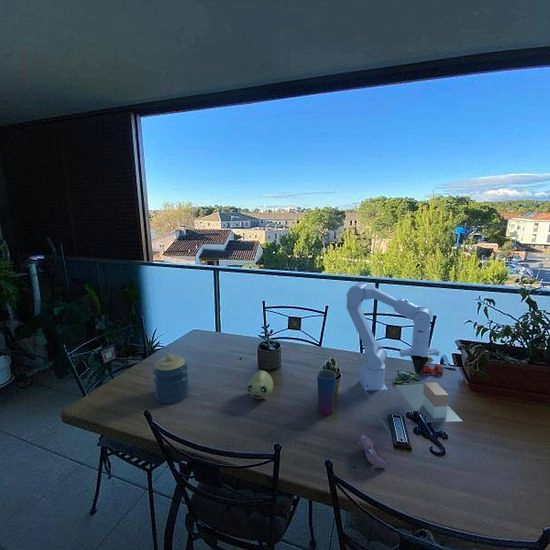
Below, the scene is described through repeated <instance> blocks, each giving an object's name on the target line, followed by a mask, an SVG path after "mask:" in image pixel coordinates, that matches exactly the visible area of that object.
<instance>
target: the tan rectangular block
mask: <svg viewBox="0 0 550 550" xmlns="http://www.w3.org/2000/svg"><path fill="white" fill-rule="evenodd" d="M423 384H424V391H423V394H424V395H425V396H426V397H427V399H428V400H429V401H430V402H431V403H432V404H433V406H434V407H439V406H447V405H448V403H449V402H448V401H449V394H448V392H447V391H446V390H445V389H444V388H443V387H442V386H440V384H438V383H437V382H434V381H433V382H432V381H431V382H423Z"/></svg>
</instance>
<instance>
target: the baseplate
mask: <svg viewBox="0 0 550 550" xmlns="http://www.w3.org/2000/svg"><path fill="white" fill-rule="evenodd" d="M394 386H395V388H396V390H397V391H398V392H399V393H400V394H401V395H402V397H403V399H404V400H405V401H406V403H408V405H409V406H410V407H411V409H412V410H413V411H414V412H415V411H418V412H419V413H421V414H422V415H423V416H426V418H425V419H426V420H425V421H426V424H427V423H430V424H431V423H451V422H453V423H455V422H463V420H462V419H461V417H460V416H458V414H456V412H455V411H454V410H453V409H452V408H451V407H450V406H449V405H448V404H447V415H446V418H433V417H432V416H431V415H430V413H429V412H428V411H427V410H426V409H425V407H424V406H423V405H422V404H423V391H424V383H422V384H421V383H420V384H418V383H417V384H416V383H415V384H395V385H394Z"/></svg>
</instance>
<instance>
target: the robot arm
mask: <svg viewBox="0 0 550 550" xmlns="http://www.w3.org/2000/svg"><path fill="white" fill-rule="evenodd" d="M345 295H346V310H347V312H348V314H349V316H350V319H351V320H352V323H353V325H354V326H355V329H356V332H357V333H358V336H359V338H360V340H361V342H362V345H363V347H364V352H363V353H364V356H365V363H366V364H364V365H361V366H360V373H359V383H360V385H361V386H362V387H361V388H363V390H364V391H365V392H367V391H382V390H383V391H387V390H388V387H387V386H386V384H385V375H386V364H385V361H386V360H387V358H388V352H387V351H386V350H385V349H384V347H382V345H381V343H379V342H378V341H377V340H376V337H375V336H374V332H373V331H372V328H371V327H370V325H369V322H368V321H367V318H366V316H365V314H364V311H363V310H362V307H361V306H362V304H363V302H364V301H367V300H373V299H374V300H376V301H379V302H381V303H383V304H385V305H388V306H390V307H392V308H393V310H394V312H395V313H397V314H399V315H401V316H403V317H405V318H406V319H408V320H411V321H413V322H412V323H414V324H413V327H412V328H413V329H412V339H411V347H410V348H405V349H400V350H399V356H400V357H401V358H405V357H410V358H411V361H412V363H413V364H412V365H413V367H414V368H413V369H414V373H416V374H417V375H420V374H421V371H422V369H423V367H424V365H425V364H426V363H427V362H428V360H429V358H428V357H429V356H436V357H439V356H440V350H439V349H437V348H429V342H430V336H431V335H430V332H431V328H430V327H431V321H432V318H433V314H432V311H431V309H429V308H428V307H425V306H421V305H420V304H419V305H417V304H415V303H413V302H410V300H409V299H408V298H405V299H404V298H399V299H397V298H395V297H394V296H391V295H390V294H388V293H387V292H384V291H382V290H381V289H379V288H377V287H375V286H374V285H373V284H370V283H368V282H366V281H359V282H358V283H356V284H355V285H352V286H351V287H349V289H348V291H347V293H346V294H345ZM427 356H428V357H427Z"/></svg>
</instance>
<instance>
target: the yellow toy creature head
mask: <svg viewBox="0 0 550 550" xmlns="http://www.w3.org/2000/svg"><path fill="white" fill-rule="evenodd" d="M273 389H274V380H273V377H272V376H271V374H269V372H267V371H265V370H262V369H261V370H258V371H256V372H255V373H254V374H253V376H252V377H251V378H250V380H249V382H248V385H247V392H248V394H249V395H250V396H251V398H252V399H254V398H255V399H257V400H262V399H264V400H265V401H267V400H268V398H269V396H270V395H271V393H272V392H273Z"/></svg>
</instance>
